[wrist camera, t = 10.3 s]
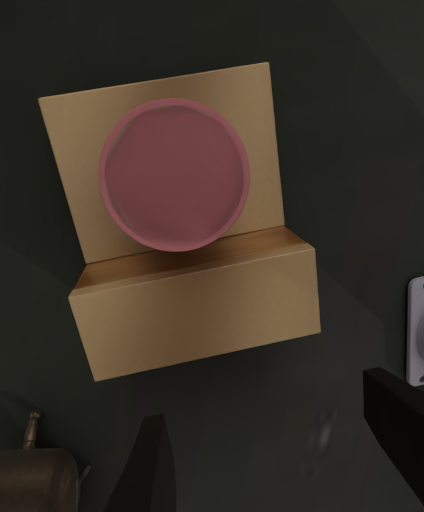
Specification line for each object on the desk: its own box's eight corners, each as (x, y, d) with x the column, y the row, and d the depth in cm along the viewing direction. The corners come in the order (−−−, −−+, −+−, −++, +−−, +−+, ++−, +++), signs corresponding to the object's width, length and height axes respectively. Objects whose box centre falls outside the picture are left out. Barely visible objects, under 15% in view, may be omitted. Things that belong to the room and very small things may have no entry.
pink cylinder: (233, 210, 18) (258, 237, 14) (129, 230, 18) (119, 264, 13) (217, 98, 16) (239, 86, 12) (101, 117, 16) (79, 112, 11)
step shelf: (256, 69, 18) (301, 41, 13) (279, 281, 22) (321, 332, 16) (51, 102, 17) (0, 87, 12) (111, 316, 21) (94, 382, 16)
